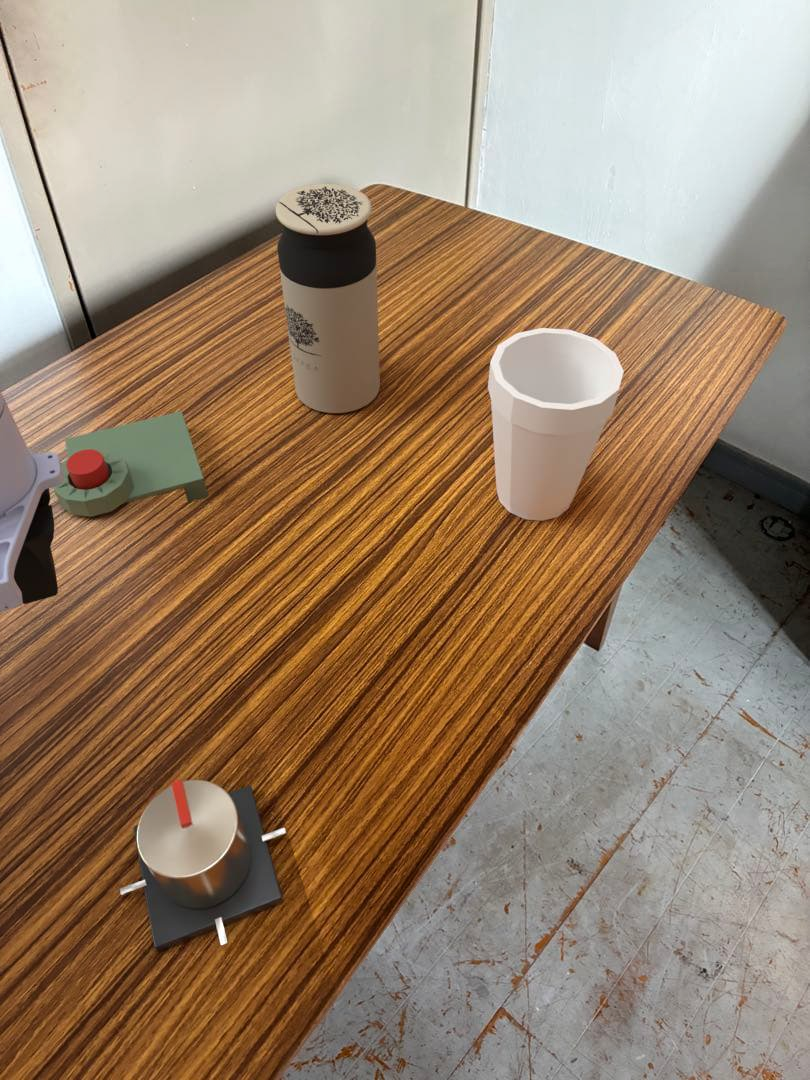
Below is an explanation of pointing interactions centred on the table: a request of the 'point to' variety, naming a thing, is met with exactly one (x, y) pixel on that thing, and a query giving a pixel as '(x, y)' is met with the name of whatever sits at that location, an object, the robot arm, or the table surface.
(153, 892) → the metal dial knob base
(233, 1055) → the table surface
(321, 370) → the travel mug
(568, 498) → the foam cup
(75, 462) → the red button
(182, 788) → the metal dial knob
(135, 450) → the button block
